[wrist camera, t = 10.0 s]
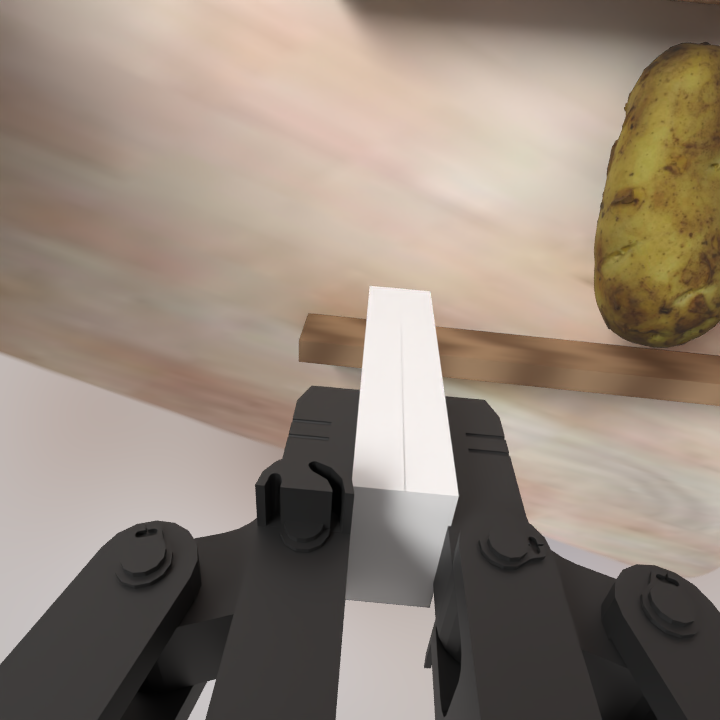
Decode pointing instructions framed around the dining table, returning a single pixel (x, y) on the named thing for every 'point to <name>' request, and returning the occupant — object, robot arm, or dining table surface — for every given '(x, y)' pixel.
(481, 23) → the dining table surface
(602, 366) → the channel
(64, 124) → the dining table surface
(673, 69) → the potato
